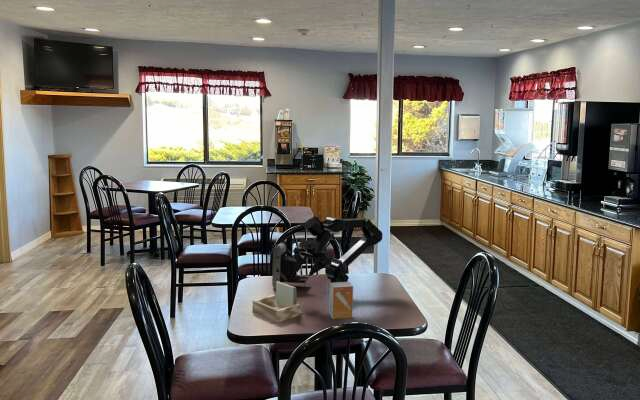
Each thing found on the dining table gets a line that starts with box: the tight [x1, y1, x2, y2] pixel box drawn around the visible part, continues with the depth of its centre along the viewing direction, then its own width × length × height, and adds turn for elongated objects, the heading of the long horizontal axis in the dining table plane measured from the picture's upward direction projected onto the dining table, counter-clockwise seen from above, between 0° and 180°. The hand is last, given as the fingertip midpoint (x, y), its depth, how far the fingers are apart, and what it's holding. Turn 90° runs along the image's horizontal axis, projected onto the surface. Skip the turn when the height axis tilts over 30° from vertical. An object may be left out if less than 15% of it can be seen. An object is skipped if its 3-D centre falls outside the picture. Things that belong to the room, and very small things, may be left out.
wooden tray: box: [251, 294, 302, 323], centre depth 219 cm, size 12×16×4 cm
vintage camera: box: [271, 241, 310, 289], centre depth 252 cm, size 10×15×20 cm, turn 78°
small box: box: [328, 281, 354, 320], centre depth 216 cm, size 8×6×13 cm
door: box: [275, 281, 297, 307], centre depth 221 cm, size 1×12×10 cm, turn 45°
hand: (301, 273), depth 228 cm, fingers open, 9 cm apart
